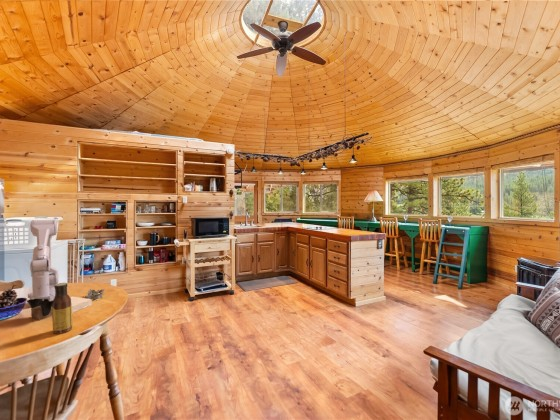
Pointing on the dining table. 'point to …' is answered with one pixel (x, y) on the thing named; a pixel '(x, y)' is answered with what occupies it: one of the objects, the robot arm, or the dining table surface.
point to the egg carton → (95, 294)
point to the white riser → (79, 303)
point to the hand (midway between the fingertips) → (41, 314)
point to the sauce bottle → (61, 310)
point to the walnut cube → (38, 313)
